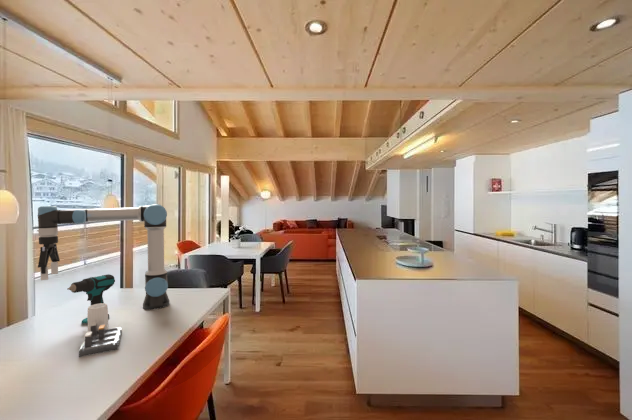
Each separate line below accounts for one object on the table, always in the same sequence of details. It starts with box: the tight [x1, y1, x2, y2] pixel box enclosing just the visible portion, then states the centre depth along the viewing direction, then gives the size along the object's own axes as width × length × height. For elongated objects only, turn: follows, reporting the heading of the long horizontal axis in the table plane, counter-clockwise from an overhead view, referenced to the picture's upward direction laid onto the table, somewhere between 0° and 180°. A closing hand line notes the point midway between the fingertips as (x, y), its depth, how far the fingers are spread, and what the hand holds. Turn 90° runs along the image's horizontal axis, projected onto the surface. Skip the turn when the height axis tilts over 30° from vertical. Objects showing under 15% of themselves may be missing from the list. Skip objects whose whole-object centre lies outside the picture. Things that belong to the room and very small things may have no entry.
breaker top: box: [84, 331, 93, 347], centre depth 135 cm, size 2×4×5 cm, turn 28°
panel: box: [78, 326, 123, 358], centre depth 143 cm, size 14×20×3 cm
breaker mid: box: [99, 325, 105, 339], centre depth 143 cm, size 2×4×5 cm, turn 28°
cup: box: [86, 302, 109, 332], centre depth 154 cm, size 8×8×14 cm
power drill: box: [67, 273, 116, 325], centre depth 169 cm, size 26×9×25 cm, turn 168°
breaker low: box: [91, 322, 97, 335], centre depth 147 cm, size 2×4×5 cm, turn 28°
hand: (49, 276), depth 159 cm, fingers open, 13 cm apart
